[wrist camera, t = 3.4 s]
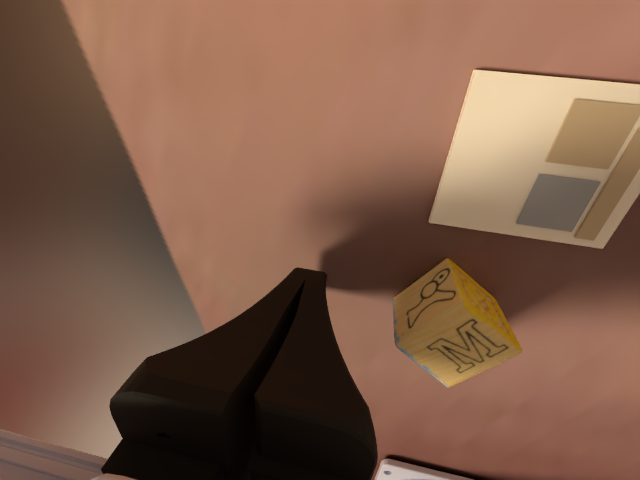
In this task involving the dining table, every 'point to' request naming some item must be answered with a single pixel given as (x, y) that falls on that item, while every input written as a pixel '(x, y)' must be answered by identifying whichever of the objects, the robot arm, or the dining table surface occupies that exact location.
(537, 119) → the card
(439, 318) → the alphabet block
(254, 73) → the dining table surface
